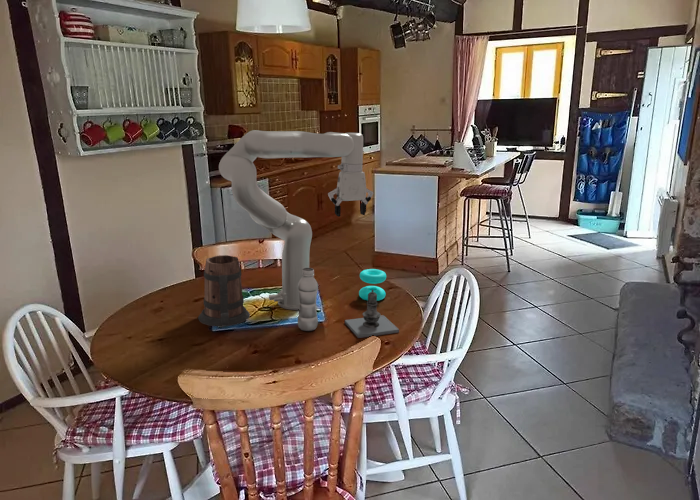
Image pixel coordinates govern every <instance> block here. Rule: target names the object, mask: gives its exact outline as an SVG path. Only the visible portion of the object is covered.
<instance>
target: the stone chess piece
mask: <svg viewBox="0 0 700 500" xmlns="http://www.w3.org/2000/svg"><path fill="white" fill-rule="evenodd" d="M365 303H366V310H365V311H364V312H362V316H363V317H362V318H364V320H365V322H364V323H363V325H364V326H365V327H368V328H376V327H378V326H379V323H378V322H377V321H378V320H379V318H380V316H381V313H380V312H379V311H377V307H378V301H377V294H376V293H375V292H373V290H372V292H370V293H369V294H368V301H367V302H365Z"/></svg>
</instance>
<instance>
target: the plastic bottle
mask: <svg viewBox="0 0 700 500" xmlns="http://www.w3.org/2000/svg"><path fill="white" fill-rule="evenodd" d="M302 276H303V277H302V278H301V279H300V281H299V283H298V293H299V304H300V306H299V310H298V315H297V326H298V328H299V329H300V330H301V331H304V332H312V331H314V330H316V328H317V327H318V325H319V324H318V323H319V320H318V313H317V311H318V310H317V295H318V288H319V284H318V281H317V280H316V279H315V269H314V268H313V267H309V268H303V269H302Z"/></svg>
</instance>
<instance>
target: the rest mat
mask: <svg viewBox="0 0 700 500" xmlns="http://www.w3.org/2000/svg"><path fill="white" fill-rule="evenodd" d="M364 322H365V320H364V317H358V318H352V319H345V320H344V324H345V325H346V326H347V327H348V328H349V329H350V331H351V332H352V333H353V335H355V336H356V337H357V339H360V338H361V339H362V338H369V336H370V337H374V336H375V337H376V336H382V335H389V334H396V333H397V334H399V333H400V329H399V328H398V326H396V325H395V323H392V322H391V320H389V319H388V318H387V317H386V316H385V315H384V314H382V315H381V316H380V318H379V320H378V321H377V322H378V323H379V326H378V327H376V328H368V327H365V326H364V325H363V323H364ZM372 335H374V336H372Z"/></svg>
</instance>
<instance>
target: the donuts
mask: <svg viewBox="0 0 700 500" xmlns="http://www.w3.org/2000/svg"><path fill="white" fill-rule="evenodd" d="M359 278H360V280H361V281H362V282H364V283H366V284H371V285H366V286H363V287H362V288H360V290H359V291H358V295H359V298H361V299H362V300H364V301H367V302H368V294H369V293H370V292H372V290H373V292H375V293H376V294H377V302H378V301H382V300H383V299H385V297H386V296H387V295H386V294H387V293H386V291H385V290H384V289H383V288H382V287H380V286H377V284H382V283H384V282H385V281H386V279H387V274H386V272H385V271H383V270H381V269H378V268H377V269H376V268H369V269H368V268H367V269H363V270H362V271H360V273H359Z"/></svg>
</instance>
